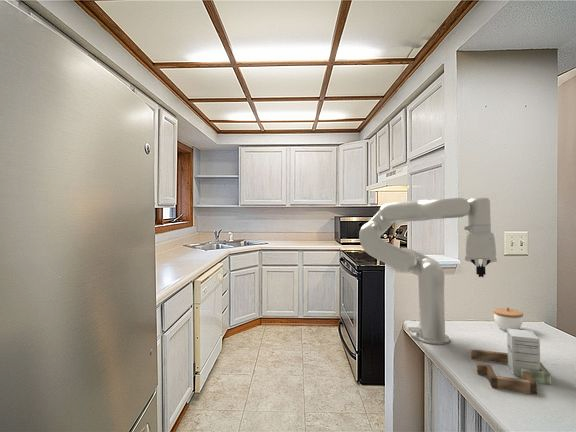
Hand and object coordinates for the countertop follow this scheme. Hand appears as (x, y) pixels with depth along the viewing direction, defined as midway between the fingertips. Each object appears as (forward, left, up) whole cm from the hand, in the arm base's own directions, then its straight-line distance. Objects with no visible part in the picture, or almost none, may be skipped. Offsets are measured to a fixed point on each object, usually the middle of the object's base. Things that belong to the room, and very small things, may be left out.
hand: (481, 276), depth 128 cm
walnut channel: (+3, -22, -26) cm, 34 cm away
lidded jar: (+13, +20, -26) cm, 36 cm away
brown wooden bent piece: (+2, -32, -26) cm, 41 cm away
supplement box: (+8, -22, -27) cm, 35 cm away
